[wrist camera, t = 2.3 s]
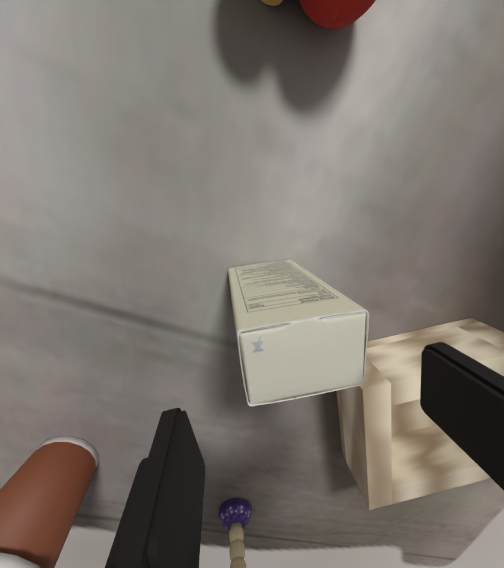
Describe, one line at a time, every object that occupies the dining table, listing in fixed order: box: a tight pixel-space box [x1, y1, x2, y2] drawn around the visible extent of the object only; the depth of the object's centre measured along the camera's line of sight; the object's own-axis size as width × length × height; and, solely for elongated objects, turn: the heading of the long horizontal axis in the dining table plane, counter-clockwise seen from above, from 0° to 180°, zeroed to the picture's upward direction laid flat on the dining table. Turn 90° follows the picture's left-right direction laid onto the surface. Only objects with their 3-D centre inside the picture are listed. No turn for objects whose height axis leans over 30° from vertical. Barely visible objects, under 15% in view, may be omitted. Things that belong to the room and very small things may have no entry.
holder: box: [336, 318, 504, 510], centre depth 25 cm, size 16×16×6 cm
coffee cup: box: [0, 436, 99, 568], centre depth 20 cm, size 9×9×12 cm
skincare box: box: [228, 260, 369, 406], centre depth 17 cm, size 6×4×12 cm
